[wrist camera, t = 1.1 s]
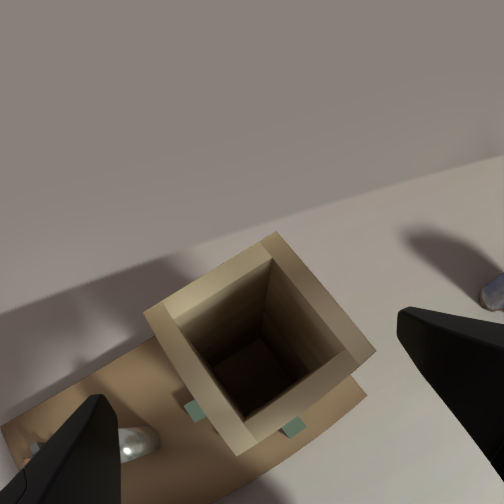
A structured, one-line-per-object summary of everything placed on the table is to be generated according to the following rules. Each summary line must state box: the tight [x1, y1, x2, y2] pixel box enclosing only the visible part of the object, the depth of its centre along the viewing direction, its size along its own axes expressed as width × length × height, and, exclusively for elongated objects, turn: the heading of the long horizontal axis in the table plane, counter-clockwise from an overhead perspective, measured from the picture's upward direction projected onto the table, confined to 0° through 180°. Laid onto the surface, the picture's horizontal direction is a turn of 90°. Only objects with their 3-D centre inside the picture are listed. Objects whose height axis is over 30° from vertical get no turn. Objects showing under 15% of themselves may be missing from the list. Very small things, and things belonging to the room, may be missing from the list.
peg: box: [118, 426, 161, 463], centre depth 14 cm, size 2×2×5 cm
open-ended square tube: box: [143, 231, 376, 456], centre depth 13 cm, size 9×9×11 cm
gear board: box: [0, 336, 367, 504], centre depth 17 cm, size 11×25×1 cm, turn 125°
